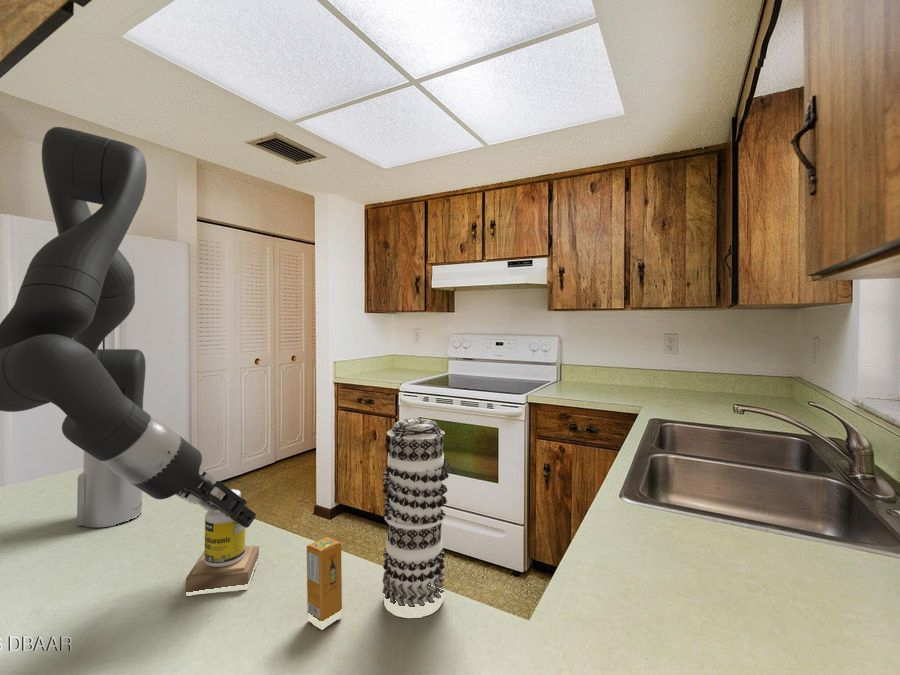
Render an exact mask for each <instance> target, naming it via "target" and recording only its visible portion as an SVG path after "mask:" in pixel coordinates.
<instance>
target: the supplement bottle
mask: <svg viewBox="0 0 900 675" xmlns="http://www.w3.org/2000/svg"><path fill="white" fill-rule="evenodd" d="M230 490H232V491H233V492H234V493H236V494H237V495H238V496H240V497H241V496H242V494H241V491H240V490H239V489H233V488H232V489H231V488H230ZM241 498H242V497H241ZM211 505H212V503H211ZM204 516H205V517H204V518H205V519H204V551H205V563H206V564H207V565H209V566H212V567H223V566H228V565H231V564H234V563H236V562H238V561H239V560H241V559H242V558H243V556H244V554H245V546H246V528H245V527H243V526H241V525H240V524H238V523H237V522H236V521H234V520H233V519H231V518H229V517H228V518H227V517H226V516H225V515H224V514H222V513H221V512H219V511H217V510H215V511H213V512H211V511H208V510H207V512H206V513H205V515H204Z"/></svg>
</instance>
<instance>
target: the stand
mask: <svg viewBox="0 0 900 675" xmlns="http://www.w3.org/2000/svg"><path fill="white" fill-rule="evenodd" d="M258 556H259V557H260V545H245V554H244V556H243V558H242V559H241V560H239V561H238V562H236V563H234V564H231V565H228V566H223V567H212V566H209V565H207V564H206V563H205V550H203V552H202V553H201V555H200V557H199V558H198V560H197V561H196V562H195V563H194V566H193V567H192V569H191V570H190V572H188V574H187V576H186V577H185V593H186V592H193V591H199V590H205V589H214V588H221V587H228V586H236V585H245V584H248V582H249V580H250V577H251V574H252V571H253V568H254V566H255V563H256V561H257V559H258Z"/></svg>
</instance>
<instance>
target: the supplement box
mask: <svg viewBox="0 0 900 675" xmlns="http://www.w3.org/2000/svg"><path fill="white" fill-rule="evenodd" d="M342 570H343V569H342V542H340V541H337V540H336V539H333V538H330V537H328V536H325V537H324V538H321V539H318V540H316V541H314V542H312V543H310V544H307V545H306V590H307V592H306V594H307V596H306V597H307V599H306V600H307V603H306V604H307V614H308V613H310V614H311V615H313V617H315V618H317V619H318V620H319V621H324V620H325V619H327V618H329V617H330V616H332V615H334V614H335V613H337V612H339V611H340V610H341V609H342V610H343V604H342V603H343V599H342V598H343V594H342V588H343V586H342V585H343V584H342V583H343V581H342V580H343V579H342V577H343V576H342Z"/></svg>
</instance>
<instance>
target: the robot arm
mask: <svg viewBox="0 0 900 675" xmlns="http://www.w3.org/2000/svg"><path fill="white" fill-rule="evenodd" d="M41 163H42V164H41V165H42V172H43V177H44V181H45V186H46V190H47V193H48V198H49V202H50V205H51V210H52V214H53V218H54V222H55V225H56V230H57V234H58V235H57V236H55V237H54V238H52V239H51V240H49V241H48V242H47V243H45V244H44V245H43V246H42V247H41V248H40V249H39V250H38V251H37V252H36V254H35V255H33V258H32V259H31V261H30V262H29V263H28V268H27V270H26V272H25V275H24V276H23V280H22V283H21V285H20V287H19V290H18V293H17V296H16V300H15V303H14V305H13V306H12V308H11V309H10V310H9V312H8V314H7V315H6V316H5V317H4V318H3V319H2V321H1V322H0V412H6V413H7V412H8V413H15V412H24V411H28V410H29V411H30V410H31V409H32V410H33V409H35V408H37V407H42V406H43V405H47V404H50V403H52V404H53V405H55V406H56V407H58V408H59V409H60V410H61V411H62V412H63V413H64V414H65V415H66V416H65V418H64V420H63V422H62V425H61V432H62V434H63V436H64V437H65V438H66V439H67V440H68V441H69V442H71V443H72V444H73V445H75V446H77V447H78V448H79V449H81V450H83V471H82V473H79V474H78V475H77V491H76V492H77V494H76V495H77V497H76V498H77V501H76V502H77V503H76V504H77V505H76V506H77V507H76V508H77V509H76V527H81V526H82V527H87V528H106V527H113V526H117V525H116V524H118V525H120V524H119V523H122V522H124V521H127V520H129V519H131V518H133V517H135V516H137V515H138V514H139V513H140V512H141V510H143V492H144V493H145V494H146V495H148V496H150V497H151V498H153V499H155V500H165V499H169V498H172V497H173V496H176V497H178V498H180V499H181V500H184V501H186V502H188V503H189V504H193V505H199V506H200V507H202V509H205V510H206V511H207V512H208V511H211V512H213V511H215V510H217V511H219V512H221V513H222V514H224V515H225V516H226V517H227V518H228V517H229V518H231V519H233V520H234V521H236V522H237V523H238V524H240V525H241V526H243V527H245V529H246V528H249V527H251V524H252V523H253V521H254V520H255V519H256V516H257V514H256V513H255V512H254V511H253V510H251V509H250V508H249V507H248V506H246V505H247V504H248V502H247V501H246V499H245V498H243V497H240V496H238V495H237V494H236V493H234V492H233V491H232V490H231V488H229V487H228V486H227V485H225V484H224V482H223V481H219V480H216V479H215V478H214V476H213V475H211V474H210V473H208V472H206V471H203V472H201V471H200V468H201V467H202V466H201V465H202V462H203V456H202V453H201V451H200V450H198V449H197V448H196V447H195V446H193V445H192V444H191V443H190V442H189V441H187V440H186V439H184V438H183V437H182V436H181V435H179V434H178V433H177V432H176V431H174V430H173V429H172V428H171V427H170V426H168V425H167V424H165V423H164V422H162V421H160V420H158V419H157V418H155V417H153V416H152V415H150V414H149V413H148V412H146V411H145V410H144V408H143V407H144V395H145V394H144V393H145V382H146V381H145V380H146V369H147V368H146V357H145V355H144V352H143V351H141V350H140V349H134V348H131V349H130V348H127V349H126V348H117V349H116V348H111V349H108V348H103V349H102V348H99V347H100V346H101V343H102V342H103V341H104V340H105V338H106V337H108V335H109V334H111V333H113V331H114V330H115V329H117V327H119V325H121V324H122V322H124V321H125V320H126V319H127V317H128V316H129V315H130V313H131V312H132V310H133V309H134V306H135V303H136V292H135V291H136V289H135V288H136V287H135V286H136V285H135V282H136V281H135V273H134V269H133V268H132V265H130V262H129V261H128V259H127V258H126V257H125V256H124V254H123V253H122V252H121V251H120V250H119V248H120V245H121V243H122V242H123V240H124V239H125V237H126V234H127V233H128V231H129V229H130V227H131V225H132V222H133V220H134V218H135V216H136V214H137V212H138V210H139V209H140V206H141V203H142V201H143V198H144V195H145V191H146V186H147V172H148V171H147V170H148V169H147V162H146V158H145V156H144V154H143V152H142V151H141V150H140V149H139V148H138V147H136V146H135V145H132V144H130V143H127V142H123V141H120V140H116V139H112V138H108V137H105V136H101V135H96V134H93V133H89V132H85V131H81V130H77V129H72V128H67V127H63V126H62V127H61V126H54V127H53V126H52V127H51V128H50V129H47V131H46V133H45V134H44V137H43V139H42V143H41ZM87 202H88V203H91V204H98V205H101V206H100V207H99V208H98V209H97V210H96V211H95V212H94V213H92V212H91V210H90V208H89V205H88V203H87ZM211 503H212V505H211ZM122 524H123V523H122Z"/></svg>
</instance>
